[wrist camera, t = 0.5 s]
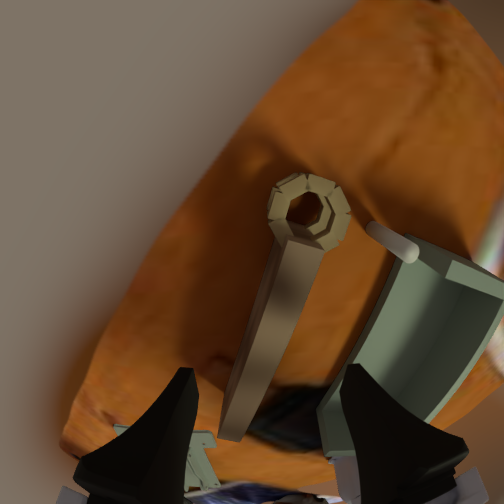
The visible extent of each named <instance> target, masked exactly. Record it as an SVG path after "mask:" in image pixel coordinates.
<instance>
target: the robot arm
mask: <svg viewBox="0 0 504 504" xmlns="http://www.w3.org/2000/svg"><path fill="white" fill-rule="evenodd" d="M339 393H340V399H341V405H342V410H343V413H344V416H345V419H346V422H347V425H348V428H349V431H350V435H351V438H352V441H353V444H354V448H355V453H356V456H339V457H332V458H331V459H330V460H329V461H328V463H329V464H334V468H335V474H336V480H337V485H338V491H339V495H340V497H341V498H342V499H343V500H344V501H345V502H346V503H348V504H484V503H486V502H487V501H488V500H489V497H488V494H487V492H486V489H485V487H484V484H483V482H482V480H481V478H480V475H479V473H478V471H477V468H476V467H473V468H472V469H470V470H468V471H467V472H465V473H463V474H461V475H460V476H458V477H457V478H455V479H454V477H453V475H454V474H455V473H456V472H455V469H454V467H455V466H457V465H458V464H459V463H460V462H461V461H462V460H463V459H464V458H465V457H466V456H467V455H468V453H469V449H468V448H467V445H466V444H465V441H464V440H463V438H460V437H458V436H455V435H452V434H449V433H446V432H444V431H442V430H440V429H437V428H435V427H433V426H431V425H430V424H428V423H426V422H424V421H423V420H421V419H419V418H418V417H416V416H415V415H414V414H412V413H411V412H409V411H408V410H407V409H405V408H404V407H403V406H402V405H400V404H399V403H398V402H397V401H396V400H395V399H394V398H392V397H391V396H390V395H389V394H388V393H387V392H386V391H385V390H384V389H383V388H382V387H381V386H380V385H379V384H378V383H377V382H376V381H375V379H374V378H373V377H372V376H371V375H370V374H369V373H368V372H367V371H366V370H365V369H364V367H363V366H362V365H361V364H360V363H355V364H348V365H347V368H346V371H345V375H344V378H343V381H342V384H341V387H340V390H339ZM198 400H199V393H198V388H197V383H196V379H195V374H194V369H193V368H185V367H180V368H179V369H178V371H177V372H176V374H175V375H174V377H173V378H172V380H171V381H170V383H169V384H168V385H167V387H166V388H165V389H164V391H163V392H162V393H161V395H160V396H159V397H158V398H157V400H156V401H155V402H154V403H153V404H152V405H151V406H150V408H149V409H148V410H147V411H146V412H145V413H144V414H143V415H142V416H141V417H140V418H139V419H138V420H137V421H136V422H135V423H134V424H133V425H132V426H130V427H129V428H128V429H127V430H125V431H124V432H123V433H122V434H120V435H119V436H118V437H116V438H115V439H113V440H112V441H110V442H109V443H107V444H105V445H104V446H102V447H100V448H99V449H97V450H95V451H93V452H91V453H89V454H87V455H85V456H82V457H81V459H80V461H79V463H78V465H77V468H76V470H75V473H74V476H73V479H74V481H75V482H76V483H77V484H78V485H79V486H81V487H82V488H84V489H85V490H86V491H88V492H89V493H90V495H89V498H88V497H87V496H85V495H83V494H81V493H78V492H76V491H74V490H72V489H69V488H68V487H65V486H62V488H61V491H60V493H59V496H58V499H57V502H56V504H184V484H185V471H186V462H187V454H188V449H189V445H190V441H191V437H192V432H193V428H194V424H195V420H196V416H197V409H198Z"/></svg>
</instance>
